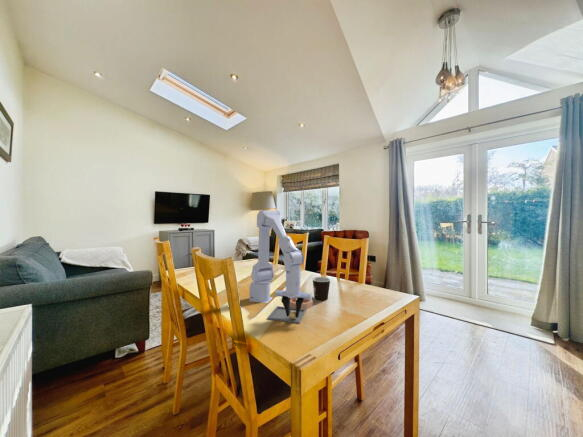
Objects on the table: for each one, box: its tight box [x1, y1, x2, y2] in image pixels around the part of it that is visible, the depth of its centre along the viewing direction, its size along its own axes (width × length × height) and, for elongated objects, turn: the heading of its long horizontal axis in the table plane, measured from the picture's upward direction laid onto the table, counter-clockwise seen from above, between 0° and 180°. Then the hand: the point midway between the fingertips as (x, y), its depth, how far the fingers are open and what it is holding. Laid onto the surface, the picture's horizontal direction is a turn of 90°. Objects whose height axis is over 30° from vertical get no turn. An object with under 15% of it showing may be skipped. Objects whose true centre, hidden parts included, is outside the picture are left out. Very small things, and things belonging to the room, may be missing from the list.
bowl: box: [290, 298, 314, 310], centre depth 107 cm, size 11×11×3 cm
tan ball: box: [289, 311, 296, 319], centre depth 92 cm, size 3×3×3 cm
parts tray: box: [267, 305, 307, 325], centre depth 96 cm, size 13×12×1 cm
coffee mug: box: [312, 276, 331, 302], centre depth 117 cm, size 12×9×10 cm
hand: (292, 315), depth 92 cm, fingers closed on tan ball, 3 cm apart
